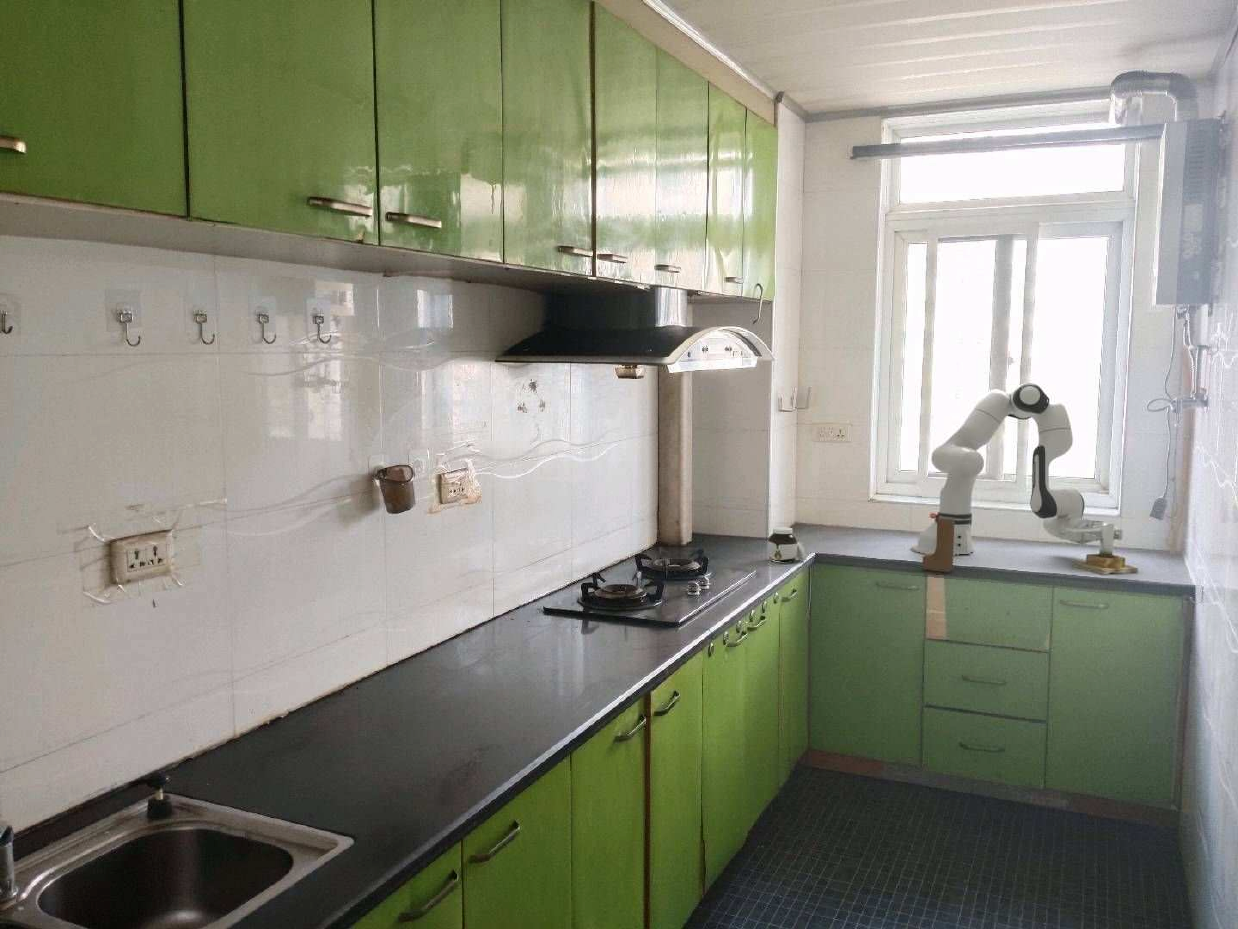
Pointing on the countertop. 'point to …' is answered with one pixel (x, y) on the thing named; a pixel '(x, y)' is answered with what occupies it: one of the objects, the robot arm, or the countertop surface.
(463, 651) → the countertop surface
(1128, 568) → the socket block
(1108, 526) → the steel pin
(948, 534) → the wooden block
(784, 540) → the spread jar
